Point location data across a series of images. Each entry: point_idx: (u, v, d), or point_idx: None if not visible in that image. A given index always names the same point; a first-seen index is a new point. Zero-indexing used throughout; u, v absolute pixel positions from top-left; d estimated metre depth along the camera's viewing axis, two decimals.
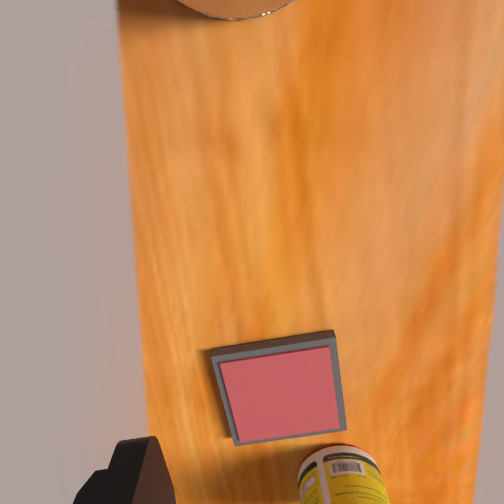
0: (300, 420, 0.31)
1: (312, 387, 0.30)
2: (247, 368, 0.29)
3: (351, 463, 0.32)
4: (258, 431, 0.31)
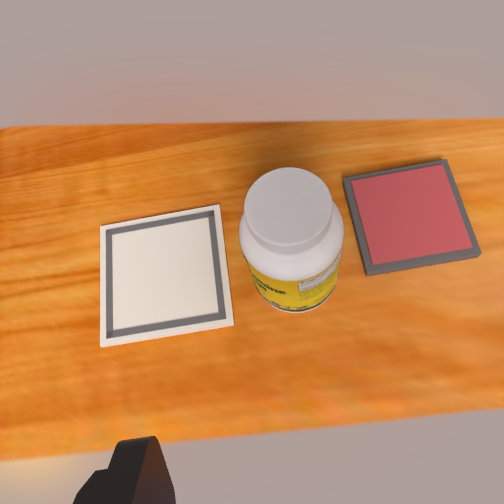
0: (381, 228, 0.33)
1: (423, 236, 0.33)
2: (439, 184, 0.34)
3: None
4: (365, 194, 0.34)
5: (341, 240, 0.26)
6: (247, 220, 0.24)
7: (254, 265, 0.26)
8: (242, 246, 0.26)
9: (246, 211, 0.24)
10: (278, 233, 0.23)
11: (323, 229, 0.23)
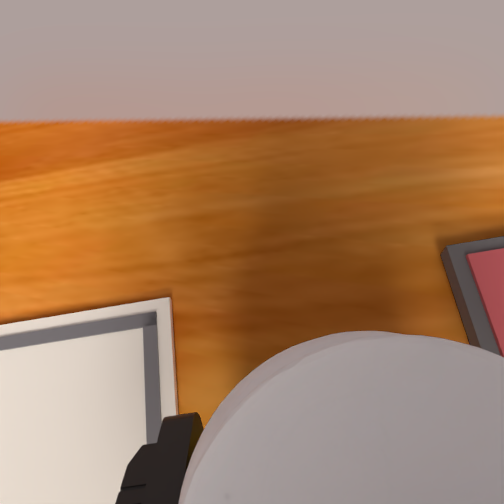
0: None
1: None
2: None
3: None
4: None
5: None
6: None
7: None
8: None
9: None
10: None
11: None
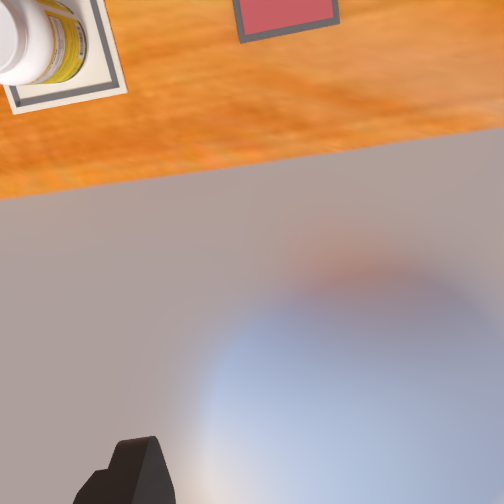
0: None
1: (292, 4, 0.35)
2: None
3: (83, 47, 0.35)
4: None
5: (48, 49, 0.29)
6: None
7: None
8: None
9: None
10: None
11: (14, 57, 0.27)
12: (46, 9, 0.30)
